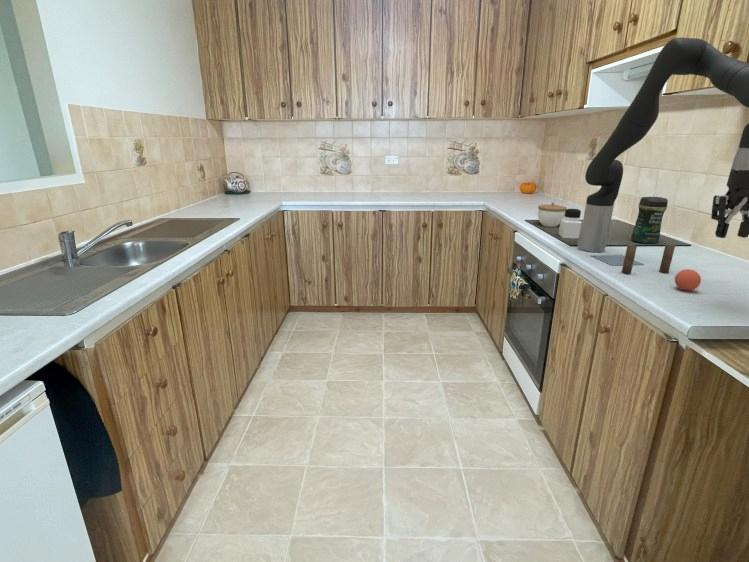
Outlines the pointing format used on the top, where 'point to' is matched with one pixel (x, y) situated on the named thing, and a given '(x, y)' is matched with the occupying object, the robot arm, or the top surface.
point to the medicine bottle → (570, 224)
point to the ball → (687, 279)
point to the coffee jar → (649, 219)
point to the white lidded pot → (551, 214)
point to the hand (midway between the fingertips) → (731, 236)
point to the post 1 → (629, 259)
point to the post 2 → (667, 258)
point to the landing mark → (614, 259)
